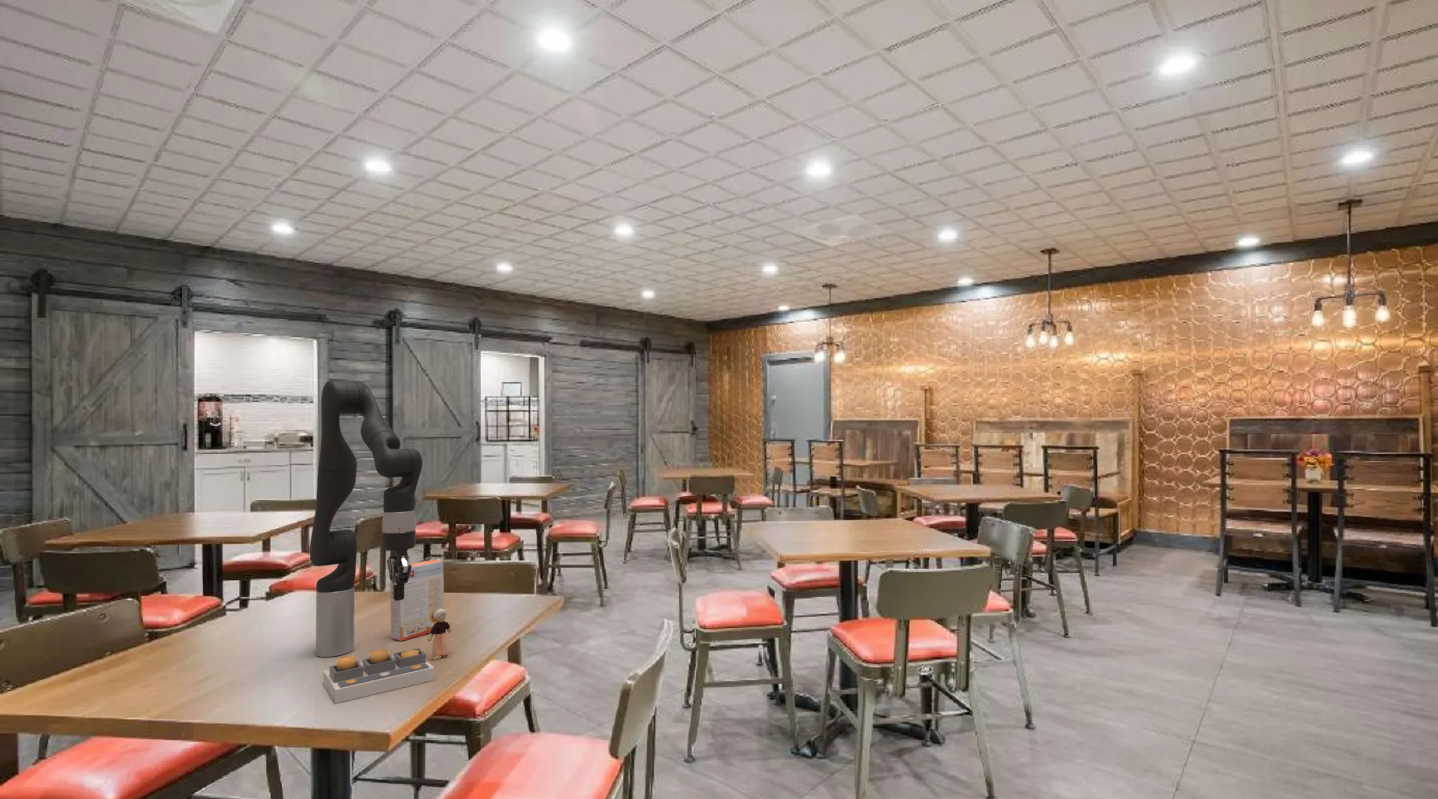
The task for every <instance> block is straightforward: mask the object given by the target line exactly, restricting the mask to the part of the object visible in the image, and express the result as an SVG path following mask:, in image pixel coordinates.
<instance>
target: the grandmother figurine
mask: <svg viewBox="0 0 1438 799" xmlns="http://www.w3.org/2000/svg"><path fill="white" fill-rule="evenodd" d="M447 612H448V611H447V610H446V609H445V608H444V609H438V610H437V611H435V613H434V618H435V619H436V621H437V623H435V624H434V626H433V627H432V629H431V631H430V633H428V634H429V635H428V638H427V639H426V640H427V641H428V642H431V641H432V639H433V642H432V650H431V651H432V653H431V654H432V656H431V658H430V659H431V660H432V661H437V660H441V658H444V657H443V656H445V657H447V656H448V652H449V651H448V642H447V635H446V634H447V633H448V634H450V633H451V632H452V629H451V626H450V624H449V622H448V621H446V618H447V615H448V614H447ZM446 632H447V633H446ZM433 636H434V638H433ZM440 656H441V657H440Z"/></svg>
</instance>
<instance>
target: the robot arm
mask: <svg viewBox="0 0 1438 799" xmlns="http://www.w3.org/2000/svg"><path fill="white" fill-rule="evenodd" d="M320 403H321V404H320V405H321V406H320V409H321V410H320V415H321V416H320V417H321V418H320V421H321V422H320V423H321V424H320V425H321V426H320V427H321V434H320V435H321V436H320V437H321V438H320V447H319V448H320V451H319V459H318V465H317V466H318V467H317V479H316V481H317V482H316V485H317V486H316V498H315V499H316V500H315V501H316V502H315V511H314V518H313V524H312V531H311V536H310V541H309V542H310V543H309V559H310V563H311V564H312V565H313V566H315V567H326V566H332V565H333V566H334V565H337V566H336V568H335V569H334V570H332V572H330V573H327V575H325V576H323V577H321V578H319V579H318V580H317V581H316V584H315V586H316V588H315V590H316V593H315V596H316V597H315V601H316V602H315V606H316V607H315V656H316V657H321V658H330V657H331V658H332V657H338V656H341V655H342V656H343V655H346V654H348V653H351V652H353V651H354V649H355V581H356V576H357V575H356V573H357V571H356V570H357V555H358V540H357V536H356V534H355V531H354V530H352V529H349V528H345V529H337V530H336V529H335V530H331V526H332V523H333V520H334V517H335V516H336V514H337V512H338V511H339V510H340V508H341V507H342V505H343V504H344V503H345V501H346V500H347V499H348V498H349V496H350V495H351V494H352V492H353V491H354V488H355V486H356V482H357V472H358V462H357V458H356V455H355V454H354V452H353V450H352V449H351V447H350V445H349V444H348V443H347V440H346V439H345V438H344V435H343V433H342V430H341V424H340V421H341V420H340V416H341V415H357V414H358V415H360V416H362V418H363V421H362V423H361V427H360V435H361V438H362V440H363V442H364V443H365V445H366V446H367V448H368V449H369V450H370V452H371V454H372V457H373V460H374V466H375V469H376V472H377V474H379V475H380V476H381V477H383V478H387V479H390V478H401V479H400V481H399V483H398V484H396V485H394V486H391V487H388V488H386V489H384V491H383V502H382V503H383V509H382V510H383V512H382V514H383V516H382V520H381V522H382V523H381V524H382V528H381V549H382V550H383V551H388V552H389V551H390V552H389V553H390V554H389V556H388V559H386V563H387V568H388V569H387V570H388V574H389V580H391V581H392V584H394V585H393V599H394V600H395V601H399V600H403V599H404V584H406V583H407V582H408V579H409V575H410V571H411V564H412V563H410V555H408V550H410V549H414V548H415V547H416V536H417V535H416V534H417V533H416V530H417V529H416V524H417V521H416V520H417V518H416V512H415V511H416V509H415V508H416V507H415V506H416V505H415V504H416V503H415V501H416V499H415V494H416V490H417V486H418V483H419V480H420V476H421V472H422V469H423V457H422V454H421V453H420V452H419V450H417V449H415V448H412V447H411V448H410V447H409V448H401V441H400V438H399V437H398V435H397V434H396V433H395V431H394V430H393V429H392V428H391V427H390V426H389V424H388V423H387V421H386V420H385V418H384V416H383V413H382V412H381V410H380V407H379V405H378V402H377V401H376V399H375V396H374V394H373V393H372V390H371V389H370V387H369V386H368V385H367V384H366V383H365V382H363V381H358V380H339V379H337V380H334V379H332V380H327V381H326V382H325V383H324V385H323V387H322V392H321V400H320Z"/></svg>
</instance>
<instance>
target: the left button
mask: <svg viewBox="0 0 1438 799" xmlns="http://www.w3.org/2000/svg"><path fill="white" fill-rule="evenodd" d="M356 661H357V656H356V655H353V654H352V655H351V654H350V655H344V656H343V655H342V656H340V657H338V658H337V659H336V665H337V669H338V670H345V669H350V668H353V667H355V666H356Z"/></svg>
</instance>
